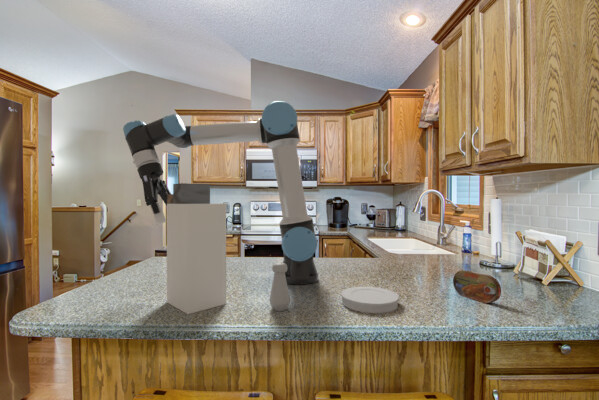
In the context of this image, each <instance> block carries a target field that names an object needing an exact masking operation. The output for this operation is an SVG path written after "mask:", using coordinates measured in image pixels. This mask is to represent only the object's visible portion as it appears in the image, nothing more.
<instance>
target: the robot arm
mask: <svg viewBox="0 0 599 400" xmlns="http://www.w3.org/2000/svg"><path fill="white" fill-rule="evenodd" d="M122 129H123V130H122V131H123V133H124V139H125V142H126V143H127V146H128V148H129V151H130V153H131V156H132V159H133V161H132V163H133V164H135V168H137V173H138V176H139V178H140V180H141V182H142V188H143V195H144V201H145V205H146V207H149V206H150V208H151V211H152V214H153V217H154V219H155V222H156V225H158V226H159V225H162V224H165V223H167V218H166V217H165V213H164V212H163V208H162V206H161V204H160V202H159V201H158V199H159V198H158V196H159V197H160V198H161V200H162V201H163V202H164V204H165V206H166V207H167V204H173V203H167V194H172V193H171V191H170V190H169V188H168V185H167V183H166V181H165V180H162V179H161V176H163V174H164V170H163V167H162V165H161V164H162V163H160V159H159V156H158V154H157V151H156V149H155V146H159V145H161V144H164V143H166V142H167V143H169V144H171V145H173V146H175V147H177V148H179V149H181V148H182V149H188V148H190V147H194V146H206V145H219V144H235V143H249V142H250V143H251V142H259V143H261V144H266V146H267V147H268V148H269V149H271V152H272V158H273V159H272V160H273V166H274V172H275V178H276V185H277V188H278V189H277V190H278V197H279V202H280V208H281V209H280V210H281V215H282V219H281V220H280V222H279V229H280V236H281V250H282V251H283V261H282V263H285V264H286V265H287V271H286V272H285V276H286V282H287V285H309V284H312V283H317V281H318V280H319V274H318V273H319V272H318V271H317V267H316V265H315V261H314V255H315V253H316V250H317V248H318V238H317V237H316V233H315V226H314V221H313V217H312V216H311V215H309V214H308V210H307V204H306V198H305V193H304V186H303V179H302V173H301V167H300V159H299V154H298V149H297V148H298V147H297V146H298V144H299V143H300V140H301V139H300V133H299V128H298V114H297V112H296V110H295V108H294V106H292V105H291V104H290V103H289V102H287V101H283V100H275V101H272V102H271V103H268V104H267V105H266V106H265V107H264V109H263V110H262V114H261V117H259V118H258V119H257V120H256V121H240V122H226V123H211V124H199V125H185V123H184V122H183V119H182V118H181V117H180V115H178V114H176V113H173V114H170V115H166V116H163V117H162V118H159V119H157V120H154V121H152V122H150V123H145V122H144V121H142V120H134V121H133V120H132V121H129V122H126V123H125V124H124V125H123V128H122Z"/></svg>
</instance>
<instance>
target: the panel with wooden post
mask: <svg viewBox="0 0 599 400" xmlns="http://www.w3.org/2000/svg"><path fill="white" fill-rule="evenodd" d="M172 190H173V191H172V193H171V194H167V203H173V204H211V184H210V183H209V184H208V183H183V182H181V183H173V184H172Z"/></svg>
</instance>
